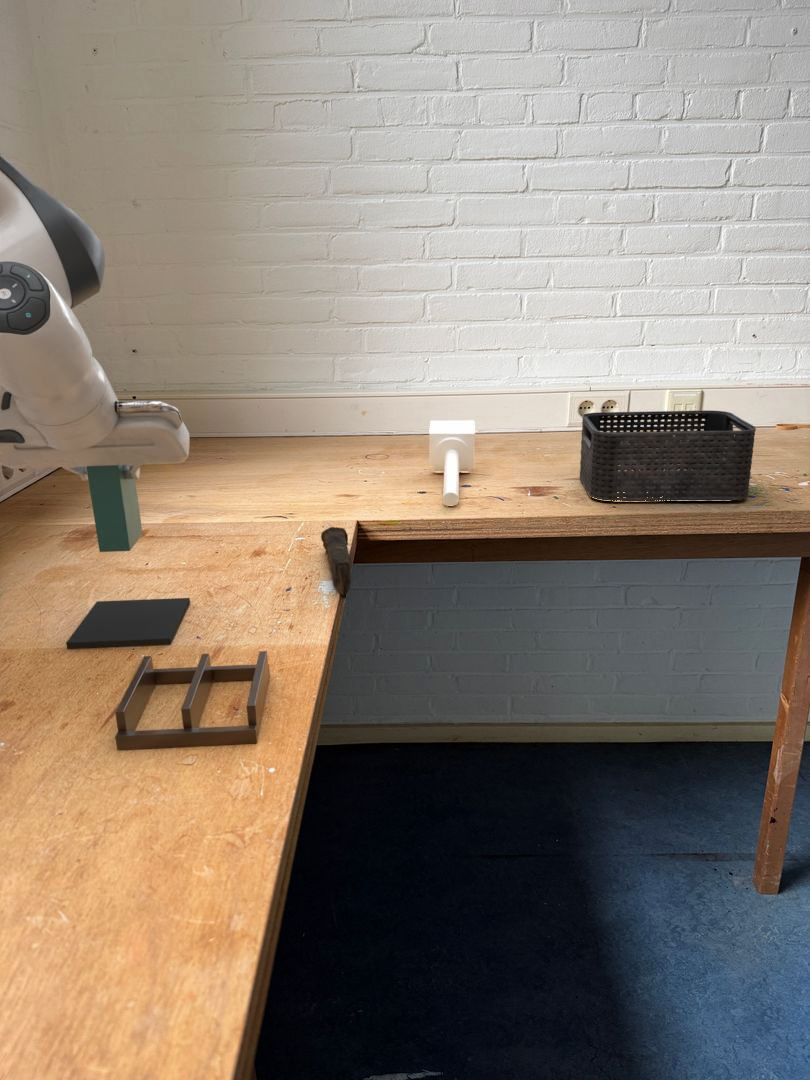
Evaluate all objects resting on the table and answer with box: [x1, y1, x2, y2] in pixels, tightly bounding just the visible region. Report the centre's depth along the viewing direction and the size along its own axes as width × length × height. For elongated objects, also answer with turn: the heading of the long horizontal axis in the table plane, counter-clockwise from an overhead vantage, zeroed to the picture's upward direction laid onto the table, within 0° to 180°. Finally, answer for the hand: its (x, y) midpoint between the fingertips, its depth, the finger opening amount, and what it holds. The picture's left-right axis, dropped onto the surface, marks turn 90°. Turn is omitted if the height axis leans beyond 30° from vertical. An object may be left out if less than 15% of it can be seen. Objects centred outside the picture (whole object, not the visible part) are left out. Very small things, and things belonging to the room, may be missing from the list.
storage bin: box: [579, 410, 757, 501], centre depth 150 cm, size 29×19×13 cm
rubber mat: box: [65, 597, 191, 650], centre depth 99 cm, size 12×12×1 cm
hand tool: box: [320, 526, 352, 596], centre depth 114 cm, size 19×4×5 cm, turn 6°
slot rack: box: [114, 650, 271, 751], centre depth 79 cm, size 13×13×4 cm
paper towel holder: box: [428, 420, 476, 506], centre depth 157 cm, size 9×9×32 cm
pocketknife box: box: [86, 465, 143, 553], centre depth 93 cm, size 4×6×11 cm, turn 4°
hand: (111, 474), depth 93 cm, fingers closed on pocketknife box, 3 cm apart
